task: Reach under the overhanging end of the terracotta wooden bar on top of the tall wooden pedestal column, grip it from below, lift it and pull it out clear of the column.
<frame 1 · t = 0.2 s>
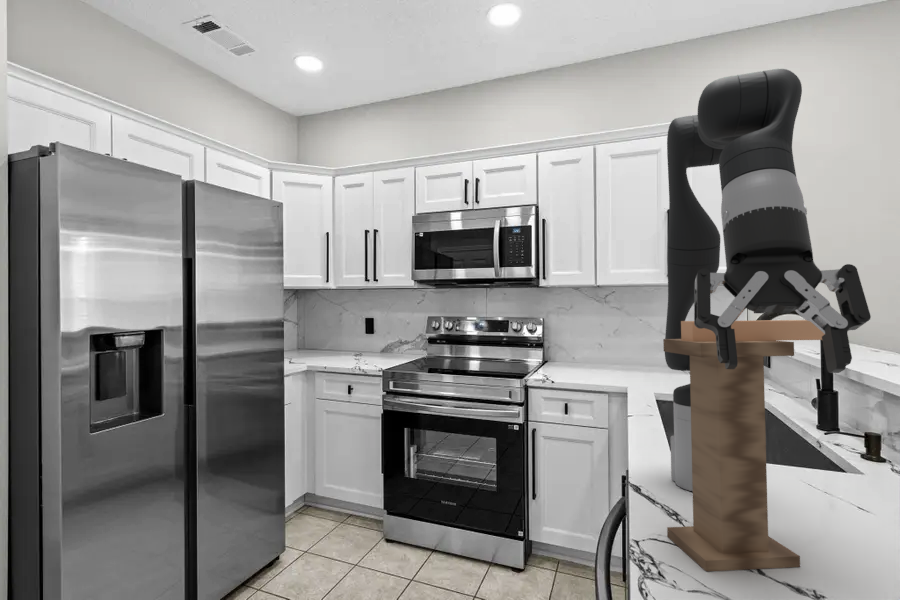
hand: (782, 369, 44), 31 cm above the counter, tool tilted 20°, fingers open, 8 cm apart
bar: (755, 340, 71), point 32 cm above the counter, touching wooden pedestal column
wooden pedestal column: (729, 550, 70), on the counter
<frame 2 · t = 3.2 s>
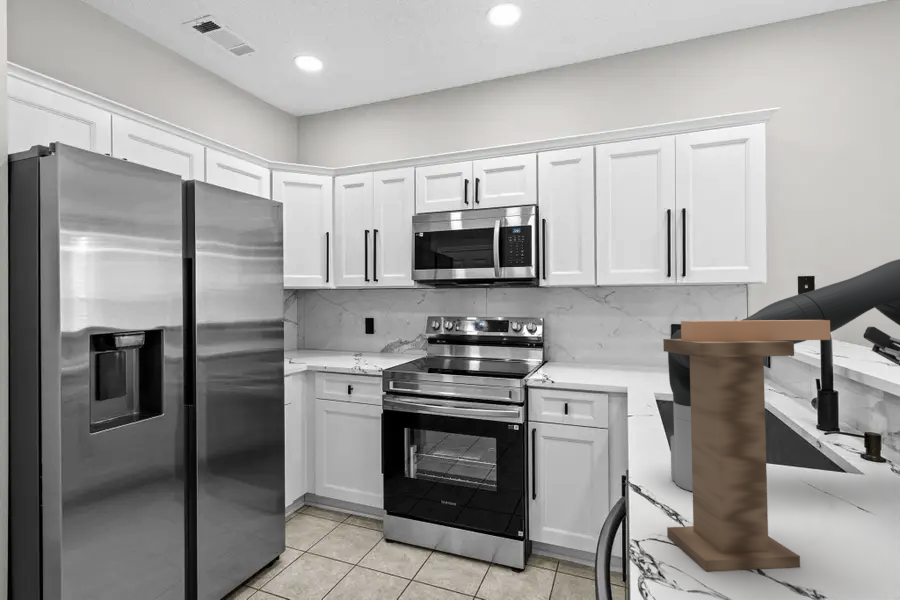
hand: (893, 332, 72), 33 cm above the counter, tool pointing upward, fingers open, 8 cm apart
nothing on the counter moved.
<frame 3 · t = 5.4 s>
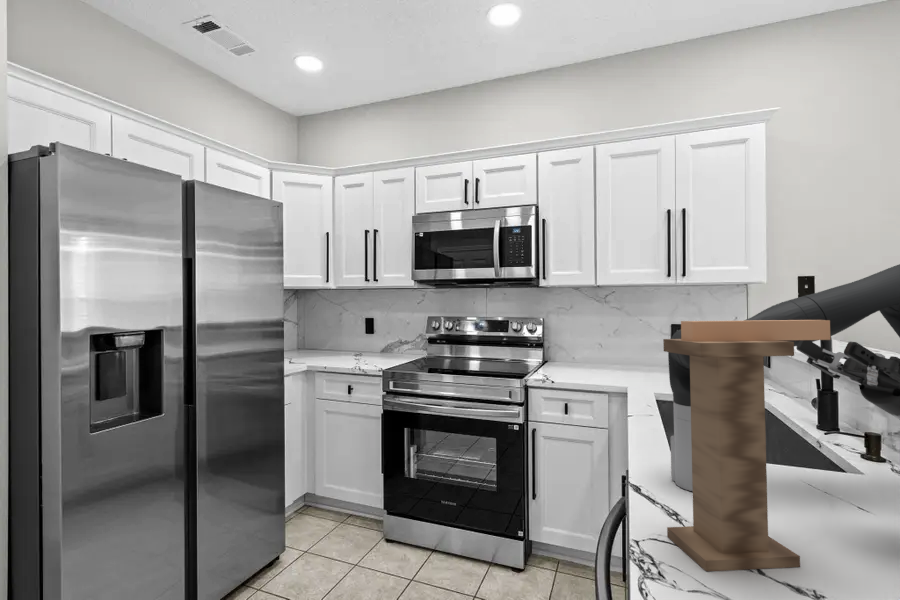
hand: (822, 345, 72), 31 cm above the counter, tool pointing upward, fingers open, 8 cm apart
nothing on the counter moved.
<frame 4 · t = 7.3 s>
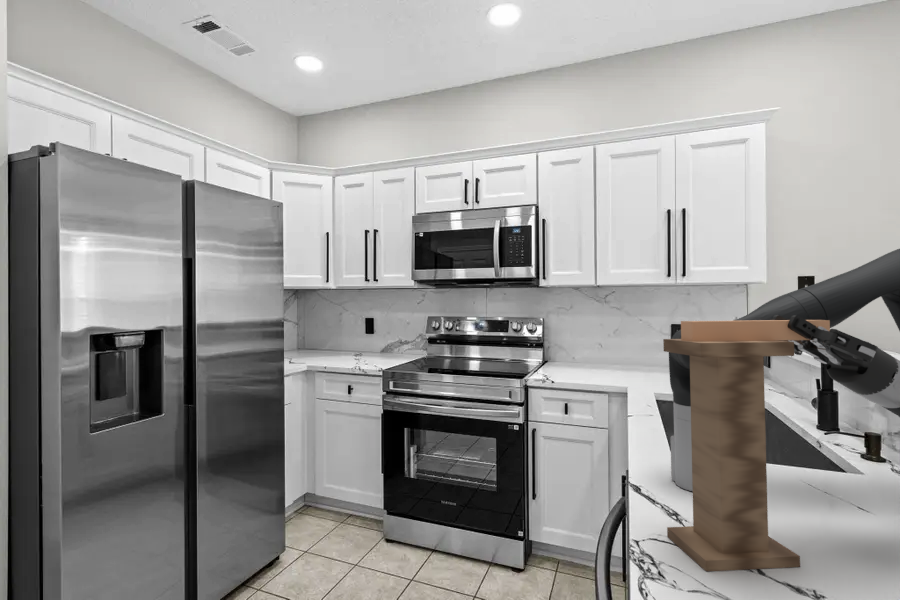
hand: (782, 320, 71), 35 cm above the counter, tool pointing upward, fingers closed on bar, 3 cm apart
bar: (755, 340, 71), point 32 cm above the counter, touching gripper, wooden pedestal column
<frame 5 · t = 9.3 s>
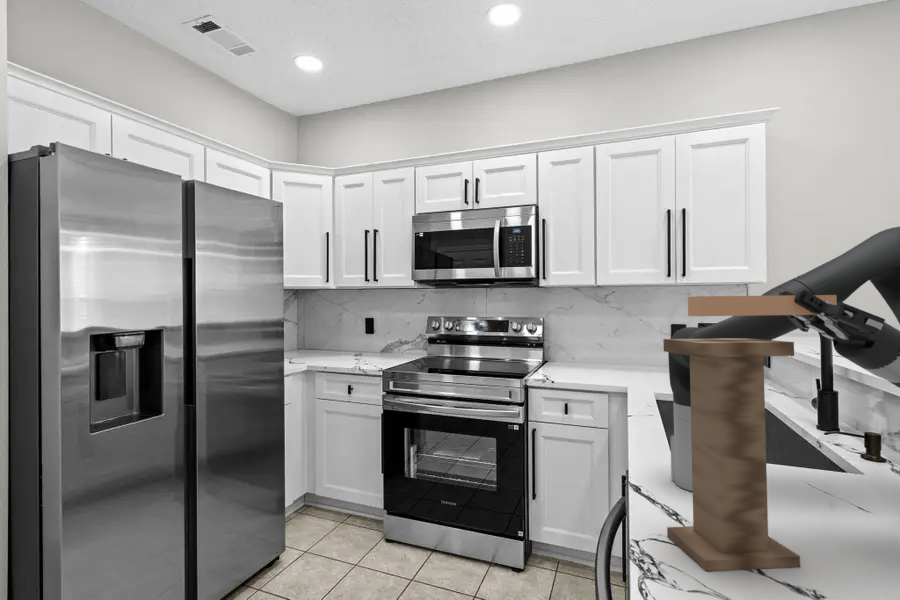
hand: (789, 295, 72), 39 cm above the counter, tool pointing upward, fingers closed on bar, 3 cm apart
bar: (761, 315, 71), point 36 cm above the counter, touching gripper
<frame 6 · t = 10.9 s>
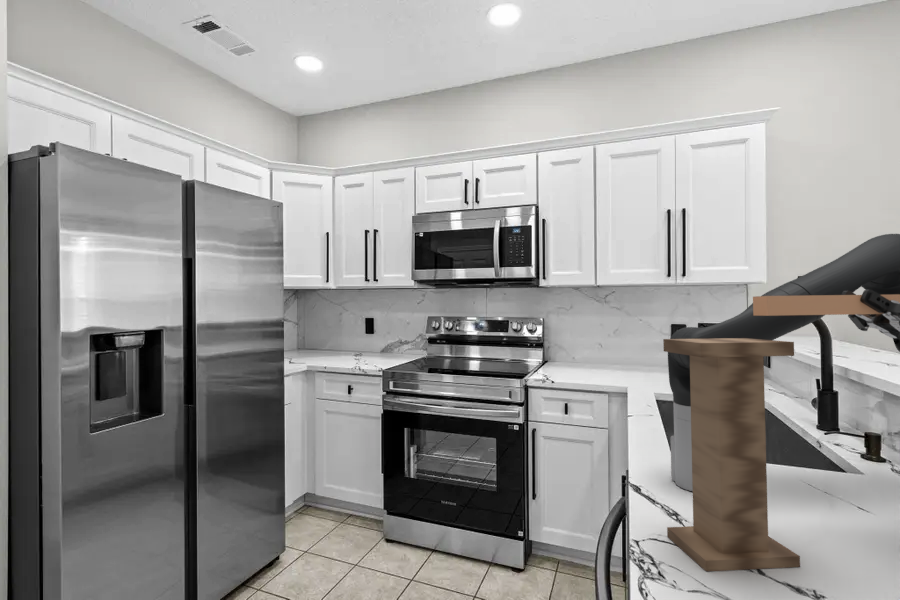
hand: (853, 295, 72), 39 cm above the counter, tool pointing upward, fingers closed on bar, 3 cm apart
bar: (827, 314, 72), point 36 cm above the counter, touching gripper
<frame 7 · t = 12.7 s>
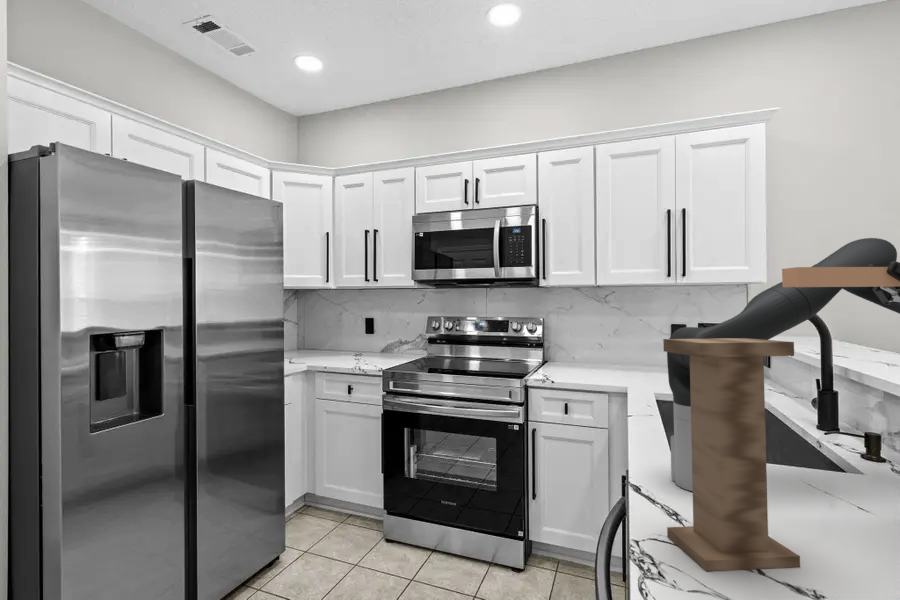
hand: (879, 267, 75), 43 cm above the counter, tool pointing upward, fingers closed on bar, 3 cm apart
bar: (854, 286, 74), point 40 cm above the counter, touching gripper
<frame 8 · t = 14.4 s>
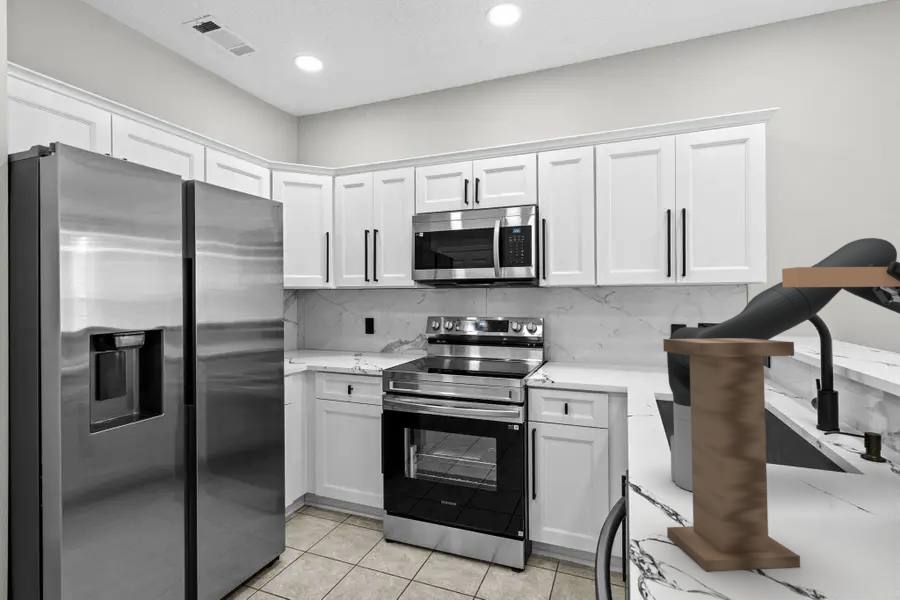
hand: (879, 267, 75), 43 cm above the counter, tool pointing upward, fingers closed on bar, 3 cm apart
bar: (854, 286, 74), point 40 cm above the counter, touching gripper
at the end: the gripper is holding bar; bar touching gripper; bar moved 20.2 cm from its start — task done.
